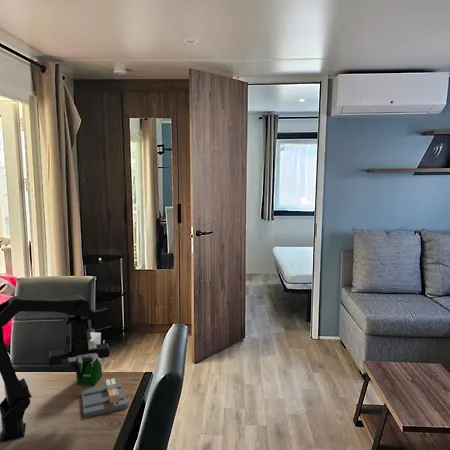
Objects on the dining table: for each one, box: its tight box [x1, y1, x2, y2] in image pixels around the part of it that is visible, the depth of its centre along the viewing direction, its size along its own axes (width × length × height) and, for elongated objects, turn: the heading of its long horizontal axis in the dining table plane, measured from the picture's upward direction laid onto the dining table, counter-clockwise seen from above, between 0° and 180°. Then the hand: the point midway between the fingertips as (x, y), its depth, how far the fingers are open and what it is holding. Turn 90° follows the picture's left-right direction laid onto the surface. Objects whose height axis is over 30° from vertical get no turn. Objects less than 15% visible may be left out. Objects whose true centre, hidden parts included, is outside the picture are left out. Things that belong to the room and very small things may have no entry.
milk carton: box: [75, 331, 103, 387], centre depth 149 cm, size 9×9×20 cm
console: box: [80, 381, 128, 418], centre depth 137 cm, size 15×14×2 cm
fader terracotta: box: [108, 389, 119, 404], centre depth 134 cm, size 4×3×3 cm
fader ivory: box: [105, 378, 117, 392], centre depth 141 cm, size 4×3×3 cm
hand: (80, 378), depth 131 cm, fingers closed
